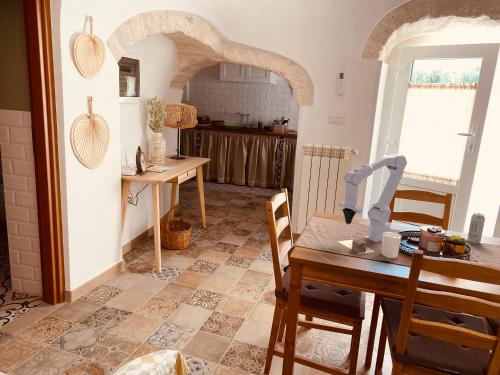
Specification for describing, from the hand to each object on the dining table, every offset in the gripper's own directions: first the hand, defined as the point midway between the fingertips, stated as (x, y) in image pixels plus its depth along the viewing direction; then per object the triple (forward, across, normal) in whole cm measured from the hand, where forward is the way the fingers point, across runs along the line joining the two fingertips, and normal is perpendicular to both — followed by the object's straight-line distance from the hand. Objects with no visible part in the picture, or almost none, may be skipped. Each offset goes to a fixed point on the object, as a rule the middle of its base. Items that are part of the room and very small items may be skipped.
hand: (348, 223), depth 185 cm
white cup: (+10, +20, +9) cm, 24 cm away
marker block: (+9, +11, -2) cm, 15 cm away
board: (+10, +6, 0) cm, 12 cm away
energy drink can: (+10, +21, +66) cm, 70 cm away
